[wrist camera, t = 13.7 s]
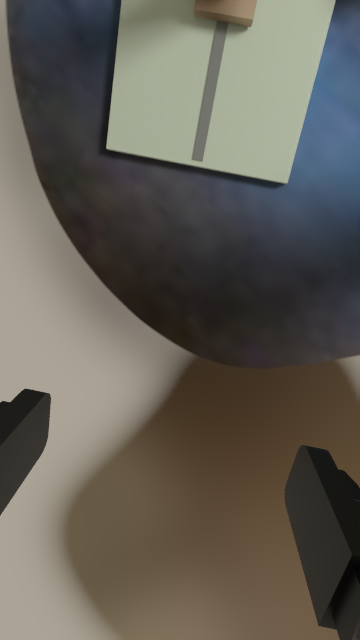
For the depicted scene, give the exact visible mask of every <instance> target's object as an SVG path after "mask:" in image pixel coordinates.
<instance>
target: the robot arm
mask: <svg viewBox="0 0 360 640" xmlns="http://www.w3.org/2000/svg"><path fill="white" fill-rule="evenodd" d="M50 404H51V397H50V394H49V393H44V392H40V391H35V390H30V389H24V390H23V391H21V392H20V393H19V394H18V395H17V396H16V397H15V398H14V399H13V400H12V401H11V402H5V401H2V402H1V403H0V515H1V514H2V512H3V511H4V509H5V508H6V506H7V505H8V503H9V502H10V500H11V499H12V497H13V496H14V494H15V493H16V491H17V490H18V488H19V487H20V485H21V484H22V482H23V481H24V479H25V478H26V477H27V475H28V474H29V472H30V470H31V469H32V468H33V466H34V465H35V463H36V461H37V460H38V459H39V457H40V456H41V454H42V452H43V450H44V448H45V445H46V442H47V438H48V429H49V417H50ZM285 504H286V508H287V512H288V516H289V519H290V523H291V527H292V530H293V534H294V538H295V541H296V545H297V549H298V552H299V556H300V560H301V563H302V567H303V571H304V574H305V578H306V582H307V585H308V589H309V593H310V596H311V600H312V603H313V607H314V611H315V614H316V618H317V622H318V625H319V626H322V627H327V628H332V629H336V630H337V632H338V635H339V638H340V640H360V488H359V486H358V485H357V484H356V483H355V482H354V481H353V480H352V479H351V478H350V477H349V476H348V474H347V473H346V472H345V471H343V470H338V468H337V466H336V465H335V463H334V461H333V459H332V457H331V455H330V453H329V452H328V451H327V450H324V449H320V448H315V447H310V446H305V445H302V446H300V448H299V449H298V452H297V455H296V457H295V460H294V463H293V466H292V469H291V472H290V474H289V477H288V480H287V483H286V487H285Z"/></svg>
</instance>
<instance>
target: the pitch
mask: <svg viewBox="0 0 360 640" xmlns="http://www.w3.org/2000/svg"><path fill="white" fill-rule="evenodd" d="M335 1H336V0H257V3H256V8H255V13H254V18H253V22H252V26H251V27H247V26H242V25H236V24H231V23H226V22H220V21H215V20H210V19H204V18H199V17H194V4H195V0H122V1H121V11H120V21H119V30H118V40H117V49H116V59H115V69H114V78H113V88H112V98H111V107H110V117H109V127H108V136H107V146H106V149H108V150H110V151H115V152H120V153H125V154H131V155H136V156H141V157H146V158H151V159H156V160H162V161H167V162H172V163H177V164H182V165H188V166H193V167H198V168H203V169H208V170H214V171H219V172H224V173H229V174H234V175H240V176H245V177H250V178H255V179H260V180H266V181H271V182H276V183H281V184H287V183H288V179H289V175H290V172H291V168H292V164H293V160H294V156H295V153H296V149H297V145H298V141H299V138H300V134H301V130H302V126H303V122H304V119H305V115H306V111H307V107H308V103H309V100H310V96H311V92H312V88H313V85H314V81H315V77H316V73H317V69H318V66H319V62H320V58H321V54H322V50H323V47H324V43H325V39H326V35H327V32H328V28H329V24H330V20H331V16H332V13H333V9H334V5H335Z"/></svg>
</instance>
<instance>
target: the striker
mask: <svg viewBox="0 0 360 640" xmlns="http://www.w3.org/2000/svg"><path fill="white" fill-rule="evenodd" d="M256 3H257V0H195V4H194V17H199V18H204V19H210V20H215V21H220V22H226V23H231V24H236V25H242V26H247V27H251V26H252V22H253V18H254V13H255V8H256Z"/></svg>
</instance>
